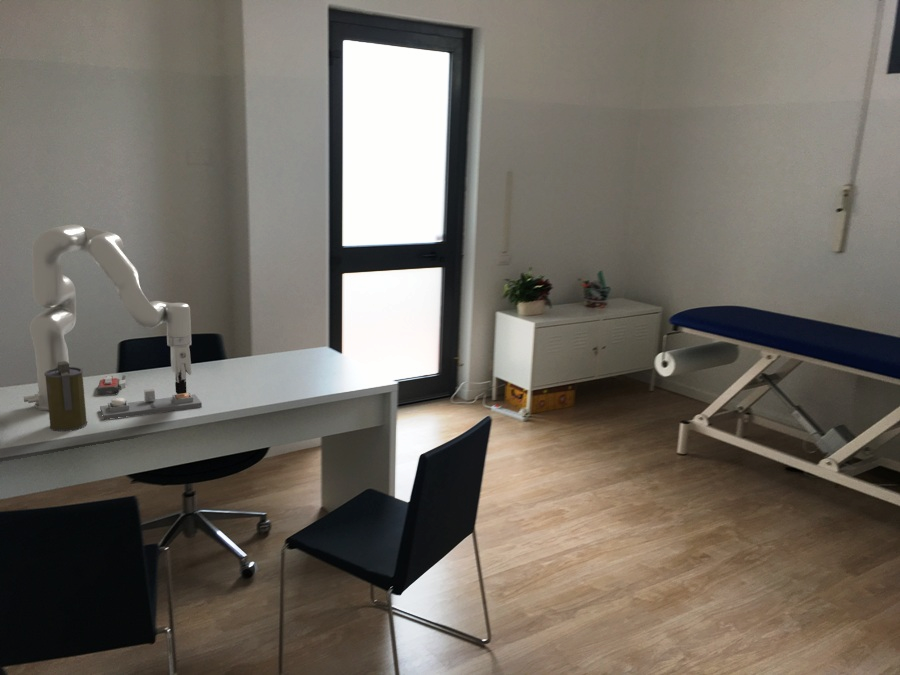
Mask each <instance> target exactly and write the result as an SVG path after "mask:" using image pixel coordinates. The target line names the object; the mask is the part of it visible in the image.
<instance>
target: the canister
mask: <svg viewBox="0 0 900 675" xmlns="http://www.w3.org/2000/svg"><path fill="white" fill-rule="evenodd" d="M57 365H58V368H57V367H56V368H55V369H51V370H48V371H46V372H45V373H44V375H45V376H46V387H47V397H48V408H49V410H48V415H49V417H48V419H49V429H50V430H51V431H54V432H70V430H72V431H77V430H80V429H82V427H83V428H85V427H86V426H87V425H88V424H87V423H88V421H87V411H86V410H87V409H86V399H85V388H84V387H85V386H84V378H83V377H84V376H83V375H84V374H83V373H84V370H83V368H81V367H75V366H70V362H69V363H68V362H67V361H63V362H58V363H57ZM84 426H85V427H84ZM79 428H80V429H79ZM76 429H77V430H76Z"/></svg>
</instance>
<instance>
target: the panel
mask: <svg viewBox="0 0 900 675" xmlns="http://www.w3.org/2000/svg"><path fill="white" fill-rule="evenodd" d="M187 393H188V394H189V398H181V399H177V398H176V395H177V393H175V394H172V396H171V397H164V398H162V397H161V398H155V401H150V402H145V400H140V401H139V400H138V401H133V402H131V401H130V402H128V401H127V400H125V405H124V406H118V407H112V403H111V402H107V405H100V406H99V407H100V410H101V411H100V413H101V415H103V416H102V418H104V419H108V420H111V419H110V418H115V419H119V418H118V417H123V418H127V417H126V416H130V417H136V416H135V415H138V416H142V415H143V414H145V415H151V414H150V413H153V414H157V413H158V414H160V413H166V412H172V411H173V410H175V411H180V409H182V410H188V408H190V409H194V408H195V409H197V408H202V406H203V405H202V404H203V403H202V401H201V400H200V399H199V398H198V396H197V395H196V394H195V393H194V394H191V392H187ZM196 407H197V408H196ZM159 412H160V413H159ZM173 412H174V411H173ZM104 419H103V420H104Z"/></svg>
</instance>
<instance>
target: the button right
mask: <svg viewBox="0 0 900 675" xmlns="http://www.w3.org/2000/svg"><path fill="white" fill-rule="evenodd" d="M188 393H189V392H186V393H184V394H177V393H176V394H177V395H176V394H175V395H176V398H177V399H181V398H189V394H188Z"/></svg>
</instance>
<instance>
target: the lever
mask: <svg viewBox="0 0 900 675" xmlns="http://www.w3.org/2000/svg"><path fill="white" fill-rule="evenodd" d="M155 394H156V393H155V389H154V388H150V389H143V397H144V399H143V400H144V401H145V402H150V401H155V399H156V395H155Z"/></svg>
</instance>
